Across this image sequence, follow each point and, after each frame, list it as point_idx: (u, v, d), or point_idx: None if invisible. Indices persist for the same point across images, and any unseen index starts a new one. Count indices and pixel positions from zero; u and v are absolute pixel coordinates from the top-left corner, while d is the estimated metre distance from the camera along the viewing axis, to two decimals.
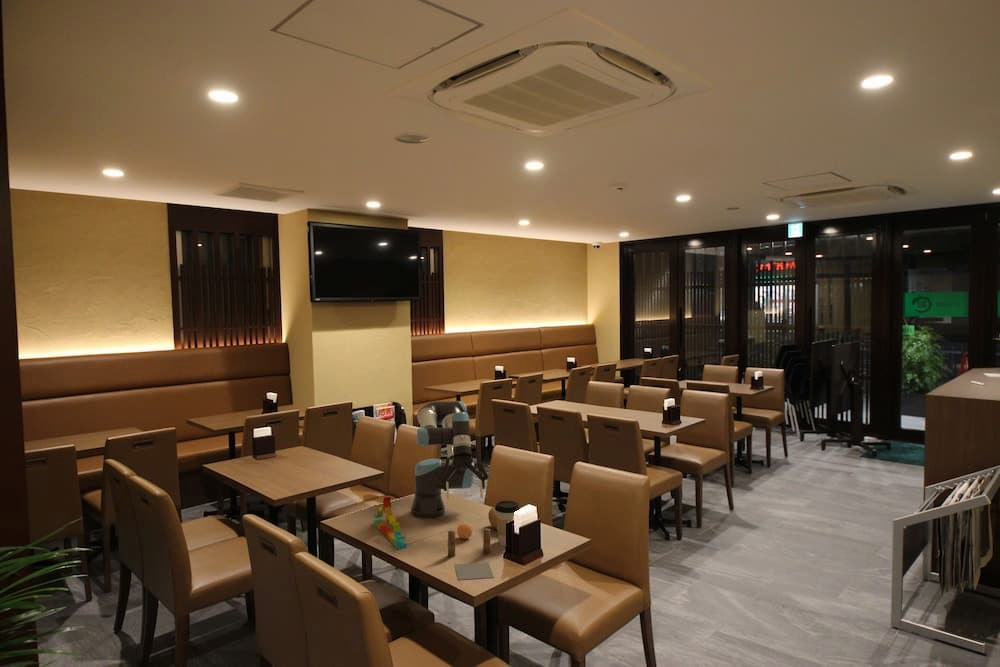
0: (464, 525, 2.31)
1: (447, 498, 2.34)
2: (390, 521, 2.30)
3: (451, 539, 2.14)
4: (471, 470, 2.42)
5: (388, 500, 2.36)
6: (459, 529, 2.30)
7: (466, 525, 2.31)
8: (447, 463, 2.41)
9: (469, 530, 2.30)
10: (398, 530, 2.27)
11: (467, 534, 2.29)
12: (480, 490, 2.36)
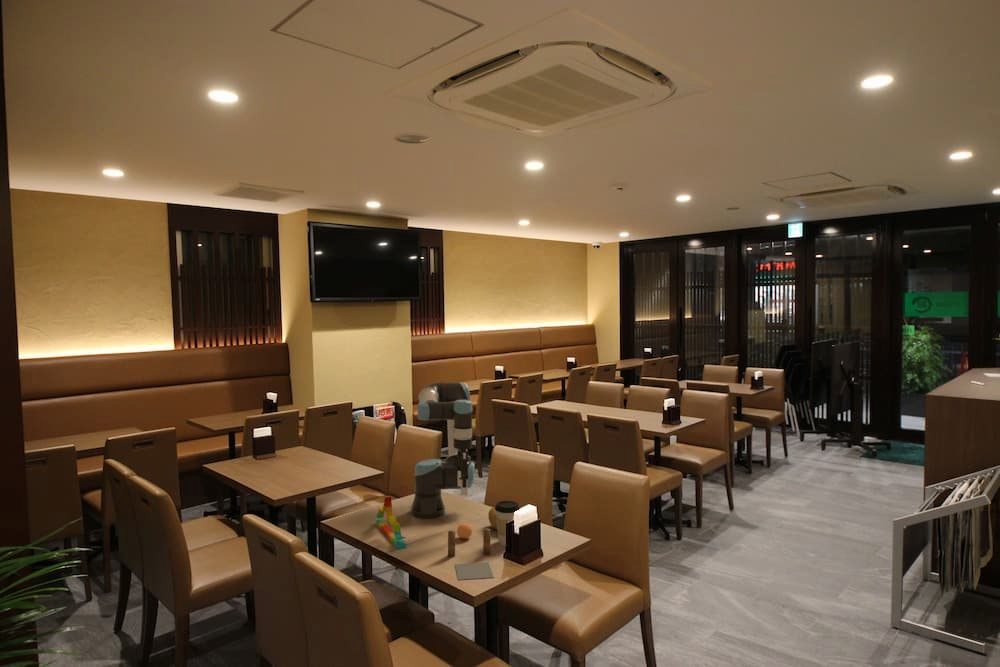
0: (464, 525, 2.31)
1: (460, 486, 2.47)
2: (390, 521, 2.30)
3: (451, 539, 2.14)
4: None
5: (389, 500, 2.36)
6: (459, 529, 2.30)
7: (466, 525, 2.31)
8: None
9: (469, 530, 2.30)
10: (398, 530, 2.27)
11: (467, 534, 2.29)
12: None
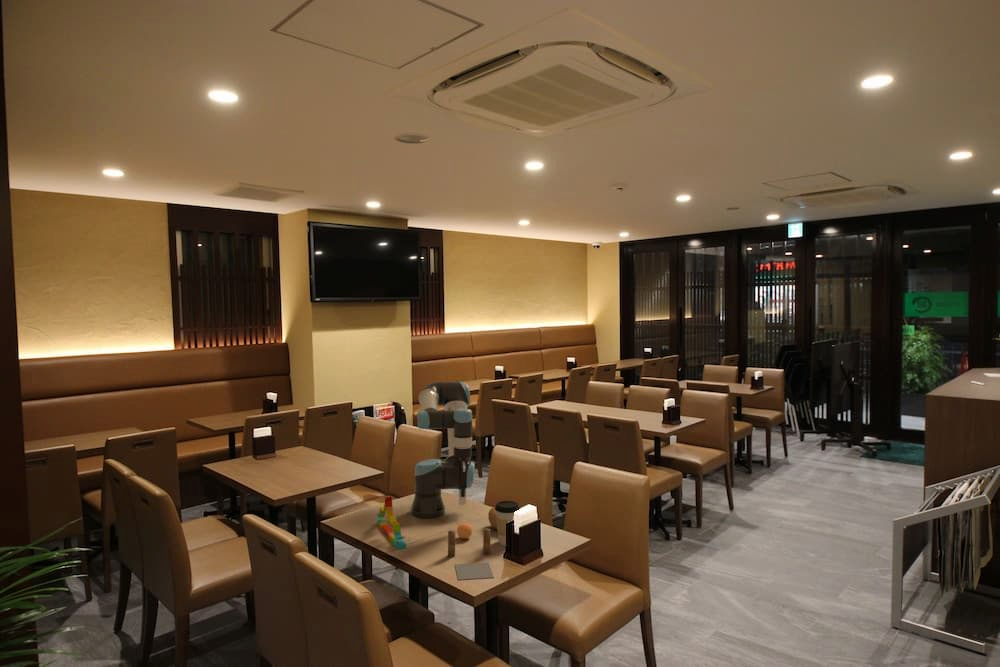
0: (464, 525, 2.31)
1: None
2: (391, 521, 2.31)
3: (451, 539, 2.14)
4: None
5: (389, 500, 2.36)
6: (459, 529, 2.30)
7: (466, 525, 2.31)
8: None
9: (469, 530, 2.30)
10: (398, 530, 2.27)
11: (467, 534, 2.29)
12: None
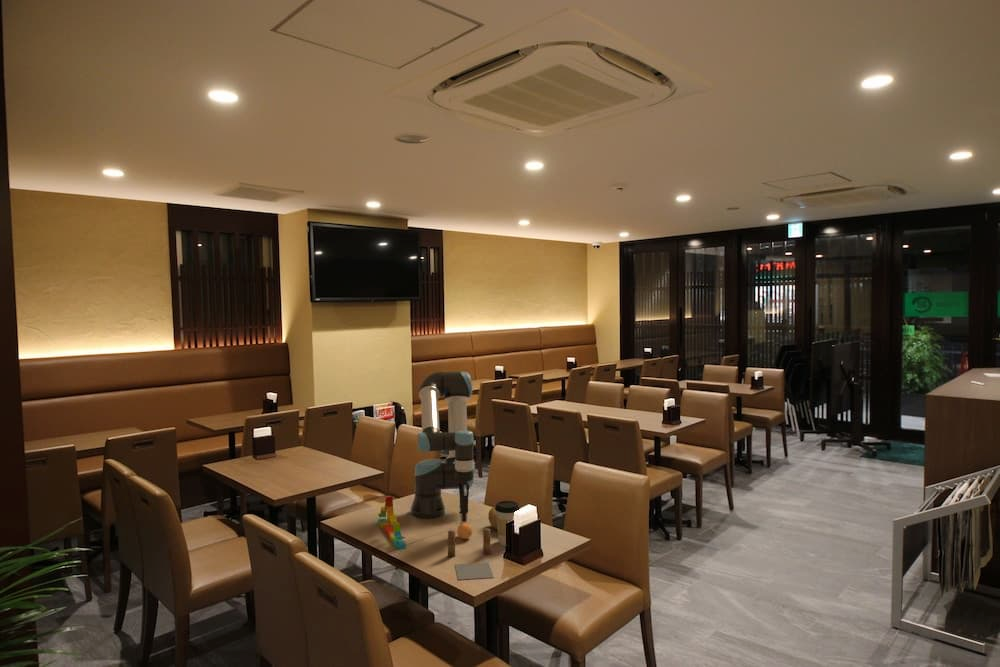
0: (464, 525, 2.30)
1: None
2: (391, 521, 2.31)
3: (451, 539, 2.14)
4: None
5: (390, 500, 2.37)
6: (459, 529, 2.30)
7: (466, 525, 2.30)
8: None
9: (469, 530, 2.30)
10: (398, 530, 2.27)
11: (467, 534, 2.29)
12: None
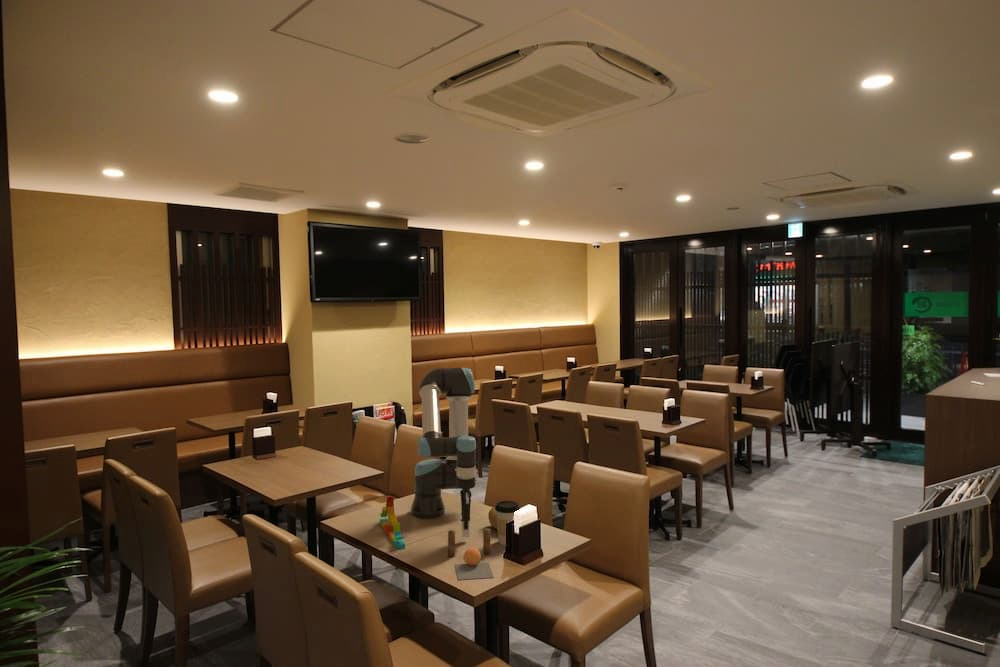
0: (472, 564, 2.05)
1: None
2: (391, 521, 2.31)
3: (451, 539, 2.14)
4: None
5: (391, 500, 2.37)
6: (466, 562, 2.06)
7: (474, 564, 2.05)
8: None
9: None
10: (398, 530, 2.27)
11: None
12: None
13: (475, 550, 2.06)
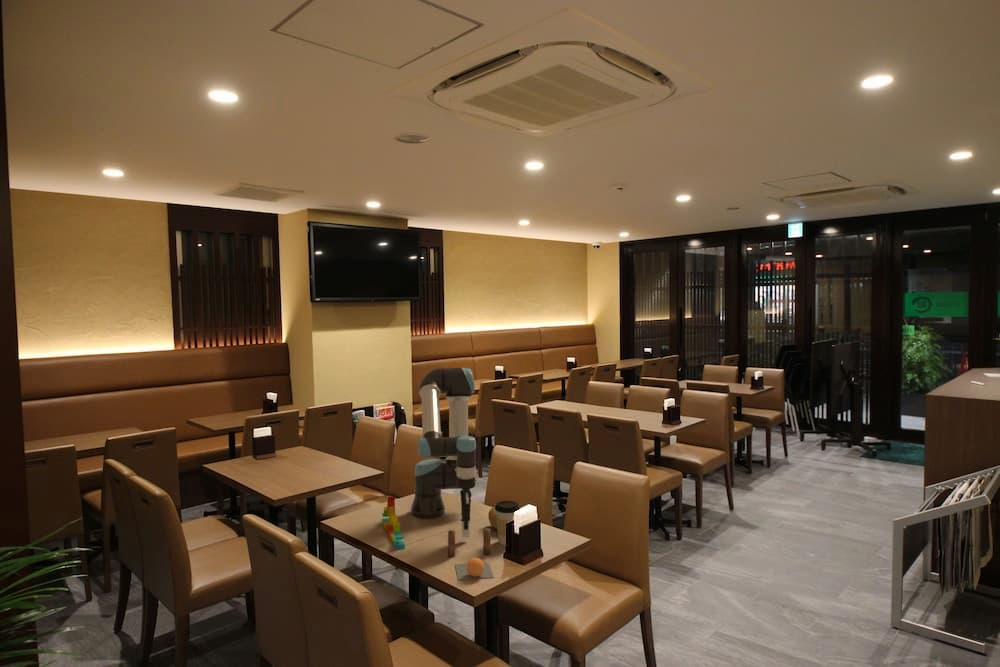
0: None
1: None
2: (392, 521, 2.31)
3: (451, 539, 2.14)
4: None
5: (392, 500, 2.37)
6: None
7: None
8: None
9: None
10: (398, 530, 2.27)
11: (478, 560, 1.98)
12: None
13: None
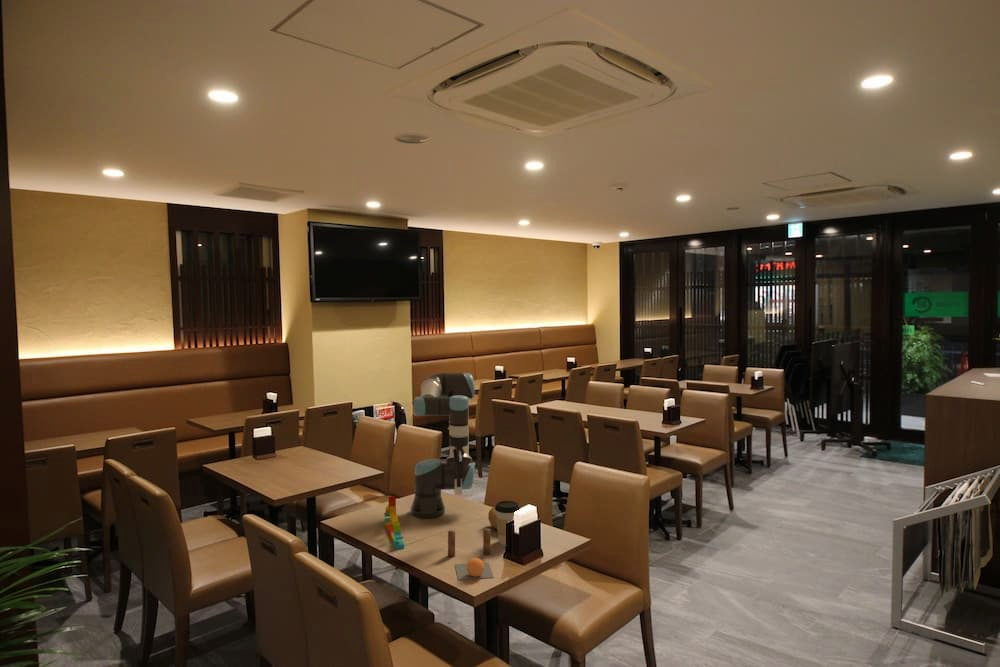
0: None
1: None
2: (392, 521, 2.31)
3: (451, 539, 2.14)
4: None
5: (393, 499, 2.37)
6: None
7: None
8: None
9: None
10: (398, 530, 2.27)
11: (478, 560, 1.98)
12: None
13: None
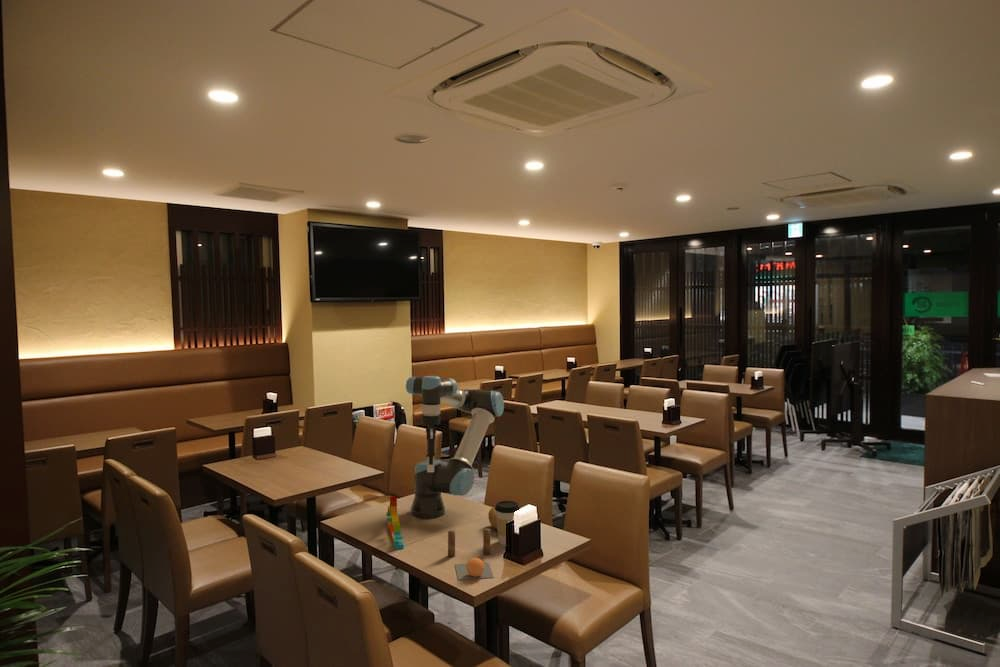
0: None
1: None
2: (393, 520, 2.31)
3: (451, 539, 2.14)
4: None
5: (394, 499, 2.37)
6: None
7: None
8: None
9: None
10: (398, 530, 2.27)
11: (478, 560, 1.98)
12: None
13: None
